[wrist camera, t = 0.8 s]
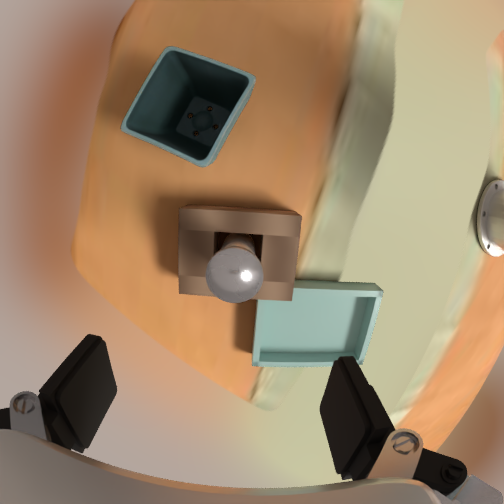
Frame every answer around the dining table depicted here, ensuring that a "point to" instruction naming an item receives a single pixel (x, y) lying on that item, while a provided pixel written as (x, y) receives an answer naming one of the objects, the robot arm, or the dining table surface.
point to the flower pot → (188, 105)
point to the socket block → (239, 221)
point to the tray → (316, 324)
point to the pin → (235, 270)
